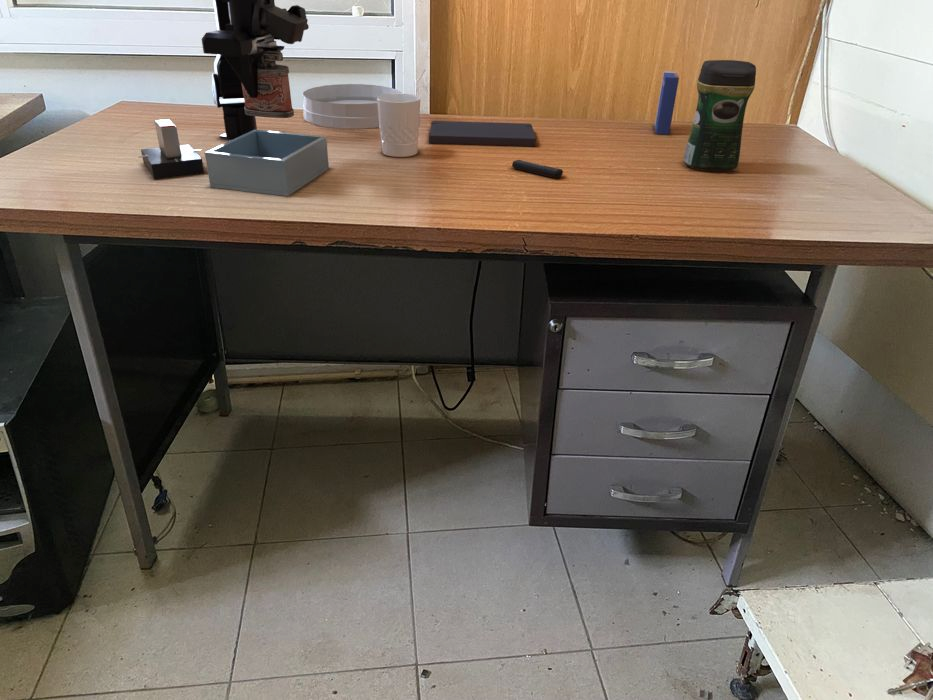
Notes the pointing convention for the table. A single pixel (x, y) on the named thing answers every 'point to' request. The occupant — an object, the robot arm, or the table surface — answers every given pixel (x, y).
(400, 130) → the white cup
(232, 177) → the basin
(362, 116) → the dish
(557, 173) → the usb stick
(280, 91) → the lighter
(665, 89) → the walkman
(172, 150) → the red-capped metal block
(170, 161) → the panel
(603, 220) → the table surface
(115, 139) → the table surface
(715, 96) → the coffee jar
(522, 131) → the notebook
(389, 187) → the table surface
